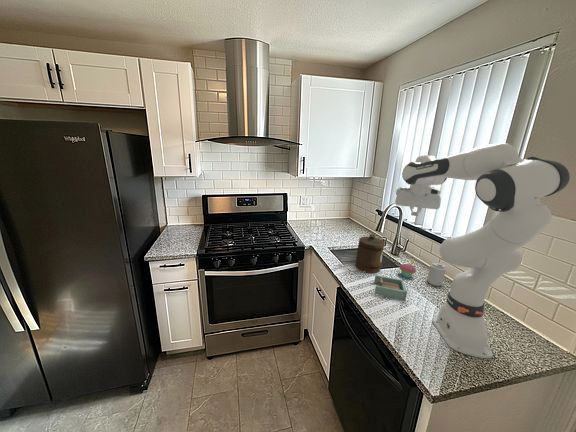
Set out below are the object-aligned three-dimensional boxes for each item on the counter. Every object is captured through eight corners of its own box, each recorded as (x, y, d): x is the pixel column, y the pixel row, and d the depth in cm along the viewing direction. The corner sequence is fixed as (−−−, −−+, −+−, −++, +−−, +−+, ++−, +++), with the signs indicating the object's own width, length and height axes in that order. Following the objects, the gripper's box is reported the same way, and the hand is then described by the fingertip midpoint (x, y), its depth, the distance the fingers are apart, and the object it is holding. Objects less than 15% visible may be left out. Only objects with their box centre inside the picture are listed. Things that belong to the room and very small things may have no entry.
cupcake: (412, 273, 143) (416, 255, 140) (415, 280, 135) (420, 261, 132) (397, 271, 145) (400, 253, 142) (399, 278, 137) (403, 259, 134)
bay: (405, 300, 116) (407, 292, 115) (374, 294, 120) (376, 286, 119) (401, 287, 128) (403, 279, 127) (374, 282, 132) (375, 274, 131)
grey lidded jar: (434, 287, 129) (439, 267, 126) (423, 280, 136) (427, 261, 133) (445, 286, 131) (450, 266, 128) (434, 279, 138) (438, 260, 135)
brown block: (398, 295, 120) (400, 286, 119) (377, 291, 123) (379, 282, 121) (397, 288, 126) (399, 280, 125) (377, 285, 129) (378, 276, 128)
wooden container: (385, 272, 144) (391, 238, 138) (364, 274, 139) (369, 239, 133) (370, 261, 157) (375, 229, 151) (350, 263, 153) (354, 231, 147)
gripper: (397, 187, 118) (393, 214, 122) (444, 191, 112) (438, 219, 116) (396, 186, 124) (391, 211, 127) (440, 189, 118) (434, 216, 122)
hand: (414, 215), depth 122 cm, fingers closed
